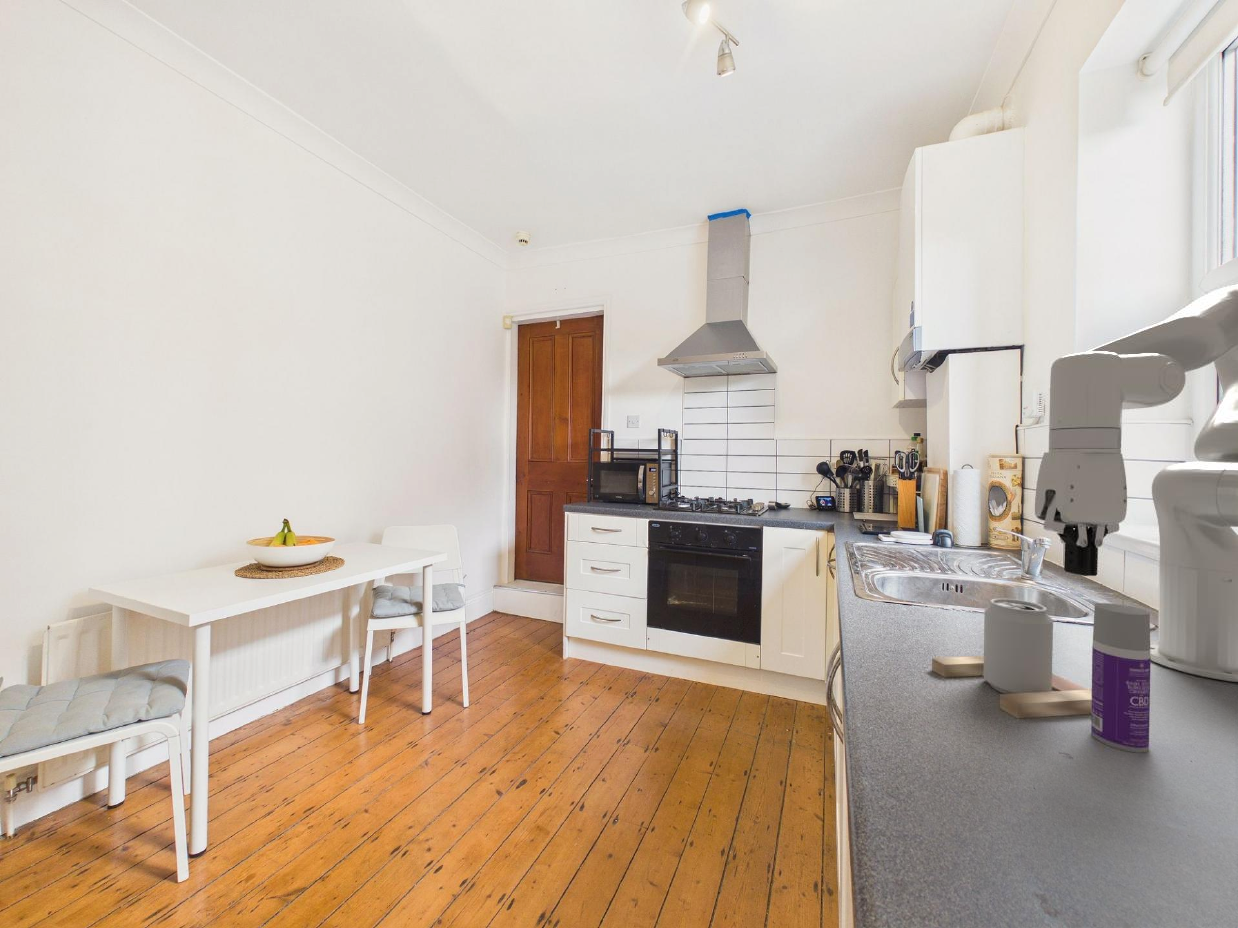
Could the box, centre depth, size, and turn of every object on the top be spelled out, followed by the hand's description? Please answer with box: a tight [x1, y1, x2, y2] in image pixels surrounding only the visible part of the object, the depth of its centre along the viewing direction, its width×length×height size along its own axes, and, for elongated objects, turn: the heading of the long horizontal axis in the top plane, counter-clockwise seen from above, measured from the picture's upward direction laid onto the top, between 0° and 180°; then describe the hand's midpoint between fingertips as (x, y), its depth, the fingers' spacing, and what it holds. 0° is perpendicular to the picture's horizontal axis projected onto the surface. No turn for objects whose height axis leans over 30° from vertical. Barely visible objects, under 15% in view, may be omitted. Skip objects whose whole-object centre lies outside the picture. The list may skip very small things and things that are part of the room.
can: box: [982, 597, 1054, 694], centre depth 71 cm, size 8×8×12 cm
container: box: [1090, 602, 1152, 753], centre depth 58 cm, size 5×5×15 cm
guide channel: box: [931, 655, 1092, 719], centre depth 71 cm, size 16×14×2 cm
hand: (1080, 573), depth 72 cm, fingers closed
